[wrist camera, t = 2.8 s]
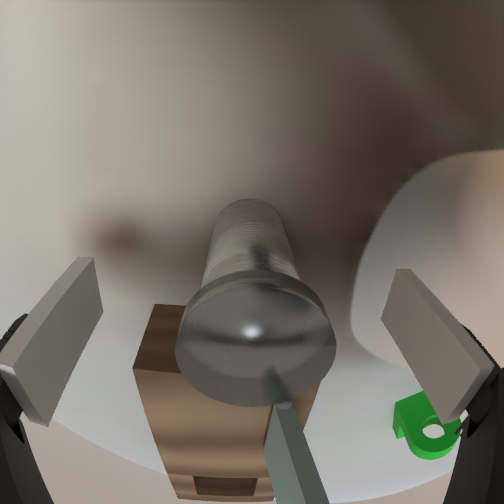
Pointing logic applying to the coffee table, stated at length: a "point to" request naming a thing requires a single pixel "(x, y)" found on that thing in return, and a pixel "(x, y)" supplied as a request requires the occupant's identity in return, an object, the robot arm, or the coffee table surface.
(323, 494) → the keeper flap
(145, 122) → the coffee table surface
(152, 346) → the block
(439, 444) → the mechanical part
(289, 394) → the grey cylinder
